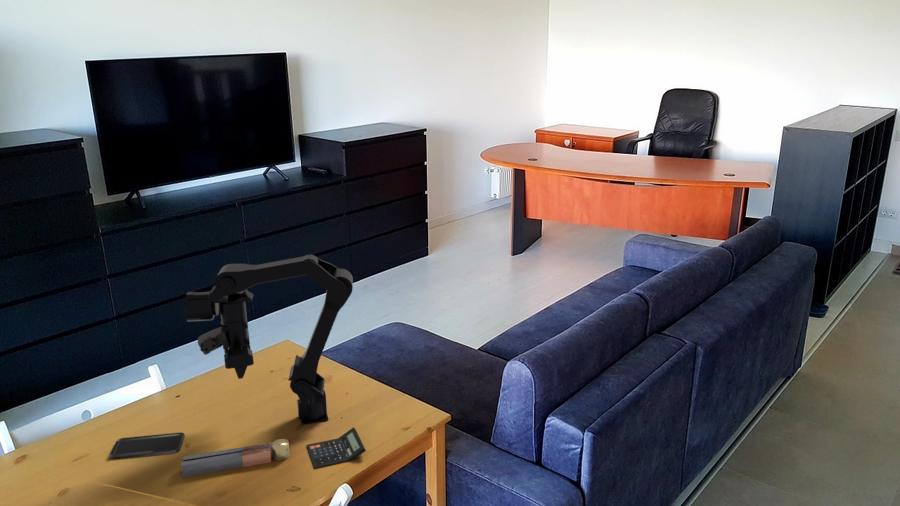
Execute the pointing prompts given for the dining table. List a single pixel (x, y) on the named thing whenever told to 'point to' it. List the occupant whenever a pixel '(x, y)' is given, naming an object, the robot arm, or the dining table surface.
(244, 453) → the bar
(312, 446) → the calculator
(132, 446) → the phone
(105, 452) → the dining table surface
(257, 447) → the arm
